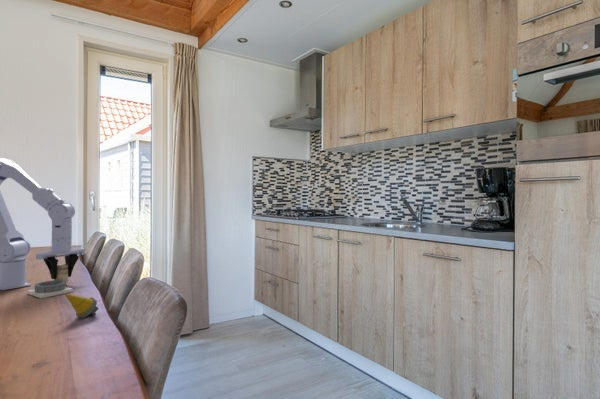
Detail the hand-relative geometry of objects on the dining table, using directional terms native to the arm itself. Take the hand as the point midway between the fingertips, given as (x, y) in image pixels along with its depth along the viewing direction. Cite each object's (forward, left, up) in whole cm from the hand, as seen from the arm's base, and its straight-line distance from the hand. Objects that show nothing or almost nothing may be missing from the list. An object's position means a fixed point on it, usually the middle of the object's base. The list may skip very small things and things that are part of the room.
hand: (61, 277), depth 124 cm
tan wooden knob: (0, 0, -2) cm, 2 cm away
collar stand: (+8, -6, -3) cm, 10 cm away
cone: (+41, -13, -3) cm, 43 cm away
